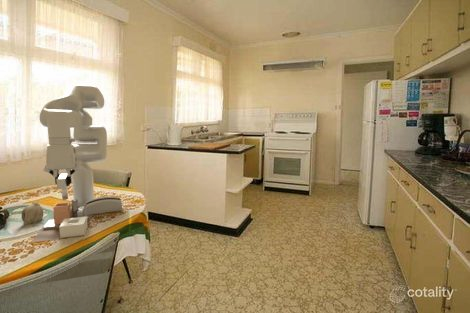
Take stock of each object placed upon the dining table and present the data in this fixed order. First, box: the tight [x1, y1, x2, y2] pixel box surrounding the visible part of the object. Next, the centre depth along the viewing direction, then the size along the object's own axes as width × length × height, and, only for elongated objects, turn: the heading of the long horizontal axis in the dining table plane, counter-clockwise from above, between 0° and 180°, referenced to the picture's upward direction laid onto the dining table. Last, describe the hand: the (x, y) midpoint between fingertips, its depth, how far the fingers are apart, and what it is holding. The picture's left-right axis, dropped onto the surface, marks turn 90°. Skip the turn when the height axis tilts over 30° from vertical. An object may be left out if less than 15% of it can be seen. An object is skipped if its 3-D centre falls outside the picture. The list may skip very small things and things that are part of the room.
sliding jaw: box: [52, 201, 73, 225], centre depth 113 cm, size 6×6×7 cm
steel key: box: [56, 172, 69, 201], centre depth 112 cm, size 8×3×10 cm, turn 21°
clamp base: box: [42, 198, 90, 230], centre depth 113 cm, size 8×15×10 cm, turn 111°
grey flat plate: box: [30, 216, 92, 243], centre depth 109 cm, size 20×17×2 cm
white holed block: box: [59, 217, 89, 238], centre depth 106 cm, size 8×8×4 cm
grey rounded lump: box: [21, 201, 45, 226], centre depth 116 cm, size 9×8×10 cm
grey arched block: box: [85, 196, 124, 216], centre depth 128 cm, size 17×5×10 cm, turn 121°
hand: (63, 185), depth 111 cm, fingers closed on steel key, 2 cm apart
